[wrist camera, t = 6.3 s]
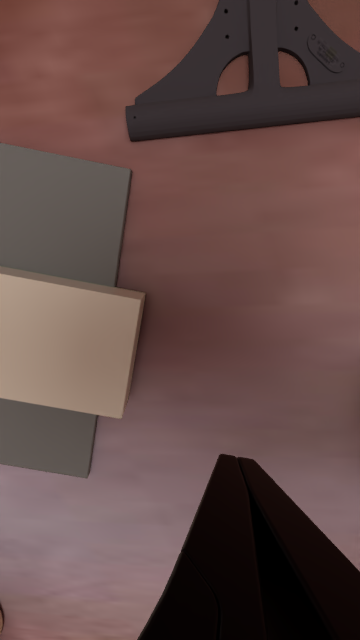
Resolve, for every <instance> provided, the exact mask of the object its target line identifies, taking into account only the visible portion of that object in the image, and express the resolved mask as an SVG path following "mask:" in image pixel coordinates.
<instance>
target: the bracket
mask: <svg viewBox="0 0 360 640" xmlns="http://www.w3.org/2000/svg"><path fill="white" fill-rule="evenodd" d="M225 13H227V14H225ZM226 38H228V39H226ZM278 51H283V52H286V53H289V54H291V55H292V56H294V57H295V58H296V59H297V60H298V61H299V62H300V63H301V65H302V66H303V68H304V70H305V73H306V76H307V80H308V86H299V87H281V86H280V79H279V62H278ZM247 54H248V57H249V87H248V91H246V92H242V93H236V94H228V95H221V96H217V95H216V89H217V84H218V80H219V77H220V75H221V73H222V71H223V70H224V69H225V67H226V66H227V65H228V64H229V63H230V62H231V61H232V60H234V59H235V58H237V57H239V56H241V55H247ZM351 117H360V53H359V52H358V51H356V50H355V49H353V48H352V47H350V46H349V45H347V44H346V43H345V42H344V41H342V40H341V39H340V38H339V37H338V36H337V35H336V34H334V32H333V31H332V30H331V29H330V28H329V27H328V26H327V25H326V24H325V23H324V22H323V21H322V19H321V18H320V17H319V16H318V14H317V13H316V12H315V11H314V10H313V8H312V7H311V6H310V4H309V3H308V1H307V0H219V3H218V5H217V8H216V10H215V13H214V15H213V17H212V19H211V21H210V22H209V24H208V25H207V27H206V28H205V30H204V32H203V33H202V35H201V36H200V38H199V39H198V41H197V42H196V43H195V45H194V46H193V47H192V49H191V50H190V51H189V53H188V54H187V55H186V56H185V57H184V58H183V60H182V61H181V62H180V63H179V64H178V65H177V66H176V67H175V68H174V69H173V70H172V71H171V72H170V73H168V74H167V75H166V76H165V77H164V78H163V79H161V80H160V81H159V82H158V83H156V84H155V85H153V86H152V87H151V88H149V89H148V90H146V91H145V92H143V93H142V94H140V95H139V96H138V97H136V98H135V105H132V106H126V121H127V127H128V132H129V137H130V140H131V141H140V140H149V139H158V138H168V137H177V136H186V135H195V134H204V133H214V132H223V131H232V130H241V129H250V128H259V127H269V126H278V125H287V124H296V123H305V122H315V121H324V120H333V119H342V118H351Z"/></svg>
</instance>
